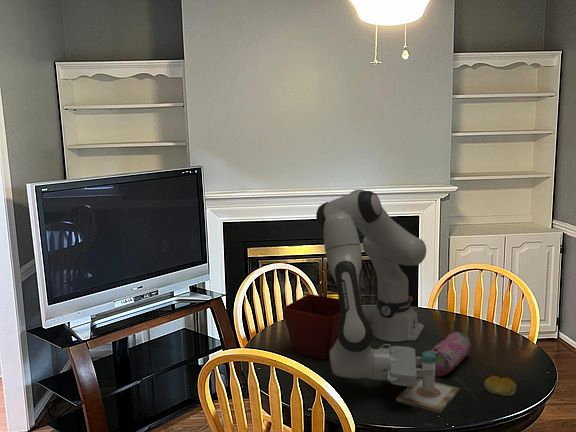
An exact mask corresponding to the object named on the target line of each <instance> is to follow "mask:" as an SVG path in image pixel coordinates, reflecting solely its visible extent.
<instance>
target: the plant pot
mask: <svg viewBox="0 0 576 432" xmlns="http://www.w3.org/2000/svg"><path fill="white" fill-rule="evenodd" d="M282 310H283V316H284V321H285V325H286V329H287V333H288V336H289V339H290V341H291V344H292V347H293V348H294V349H293V350H294V351H295V353H296V354H300V355H305V356H309V357H312V358H318V359H322V360H329V351H330V349H332V347H333V346H334V344H335V343H336V341H337V339H338V335H337V331H338V326H339V323H340V319H341V311H340V304H339V298H337V297H335V298H334V297H330V296H324V295H317V294H311V293H309V294H306V295H304V296H302V297H300V298H298V299H297V300H295V301H293V302H291V303H289V304H287V305H285V306H283V309H282Z"/></svg>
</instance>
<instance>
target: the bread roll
mask: <svg viewBox="0 0 576 432" xmlns="http://www.w3.org/2000/svg"><path fill="white" fill-rule="evenodd" d="M483 384H484V385H483V386H484V389H485V390H486V391H487V392H488V393H490V394H492V395H496V396H498V395H499V396H501V397H511V396H514V395H515V394H516V391H517V384H516V382H515V381H514V380H512V379H511V378H509V377H502V378H501V377H499V376H497V375H493V376H489V377H487V378H486V379H485V380H484V383H483Z"/></svg>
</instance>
